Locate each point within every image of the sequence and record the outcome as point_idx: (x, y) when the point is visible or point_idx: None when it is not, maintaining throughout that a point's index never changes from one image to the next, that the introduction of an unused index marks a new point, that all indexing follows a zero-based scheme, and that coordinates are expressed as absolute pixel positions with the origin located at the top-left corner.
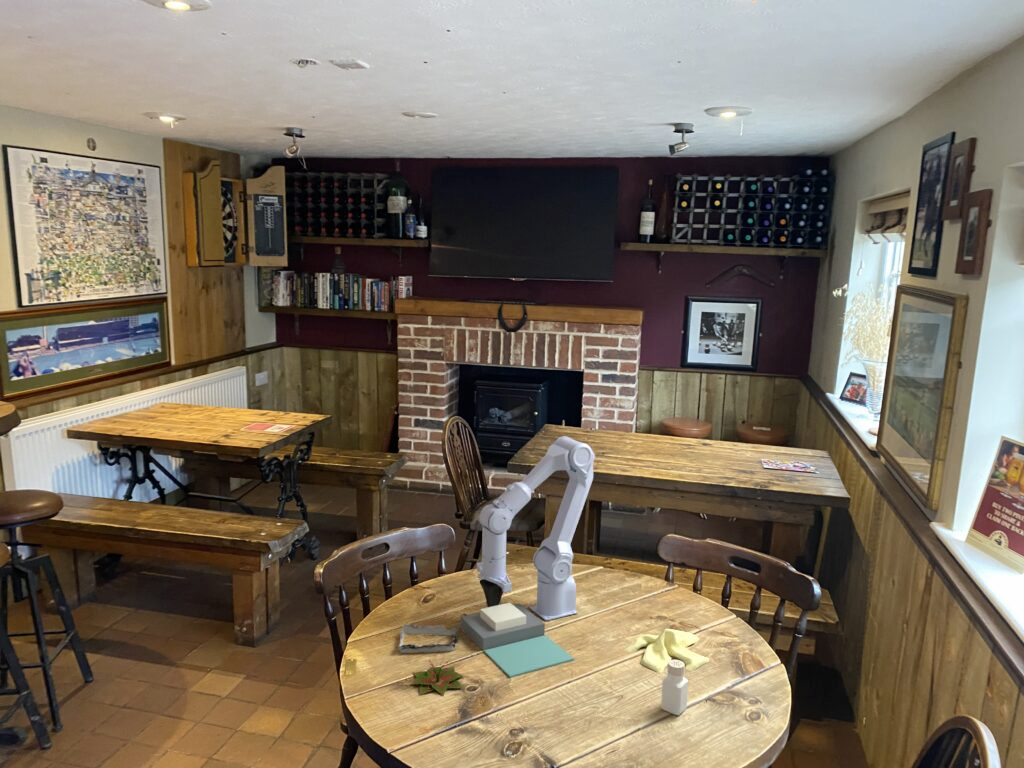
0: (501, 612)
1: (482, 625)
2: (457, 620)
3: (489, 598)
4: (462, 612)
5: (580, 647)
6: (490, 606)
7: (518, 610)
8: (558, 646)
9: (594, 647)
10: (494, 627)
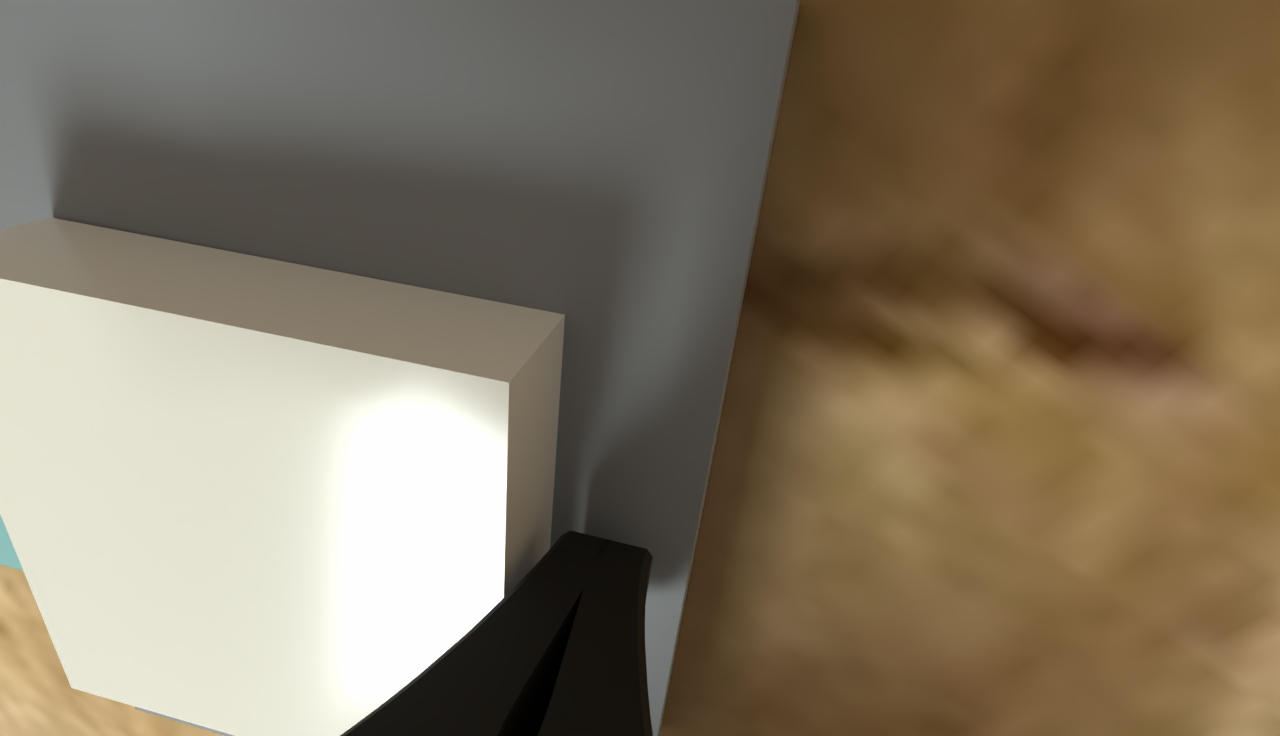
0: (243, 556)
1: (272, 159)
2: (1089, 131)
3: (393, 699)
4: (1247, 364)
5: (21, 648)
6: (525, 581)
7: (234, 726)
8: (9, 561)
9: (11, 696)
10: (48, 236)
